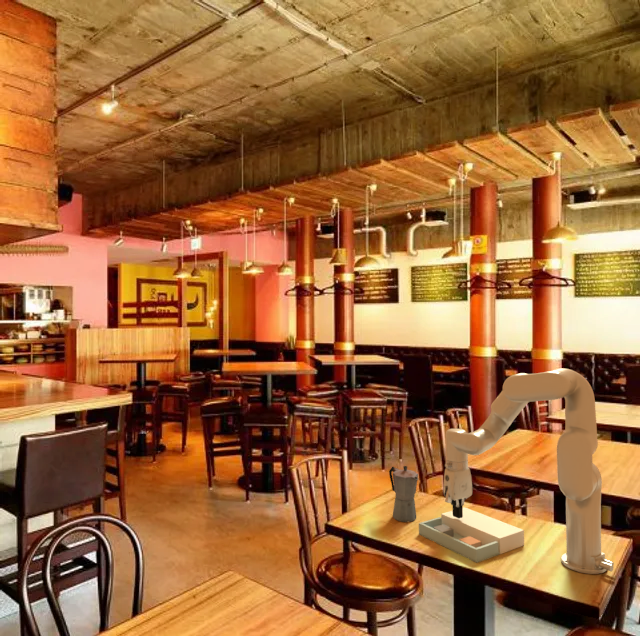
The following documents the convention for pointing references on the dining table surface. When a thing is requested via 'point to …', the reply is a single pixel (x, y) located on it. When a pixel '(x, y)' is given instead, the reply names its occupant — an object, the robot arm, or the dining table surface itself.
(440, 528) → the slate tile
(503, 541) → the board
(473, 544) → the terracotta tile
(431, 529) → the box
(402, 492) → the moka pot
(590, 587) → the dining table surface
